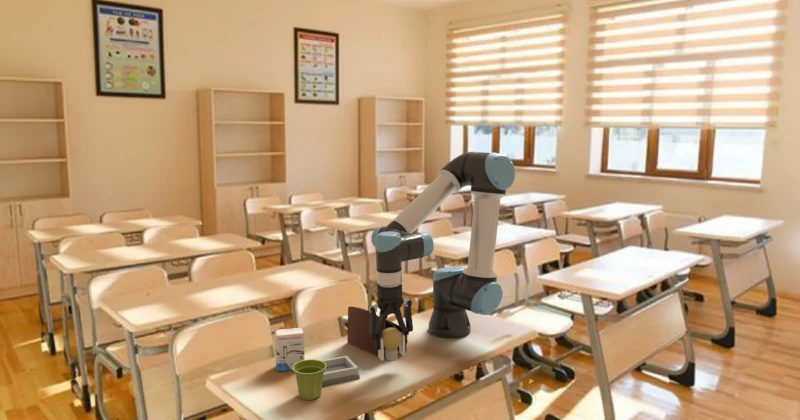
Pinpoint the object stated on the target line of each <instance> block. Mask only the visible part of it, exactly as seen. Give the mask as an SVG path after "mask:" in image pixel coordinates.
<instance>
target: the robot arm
mask: <svg viewBox="0 0 800 420" xmlns="http://www.w3.org/2000/svg"><path fill="white" fill-rule="evenodd" d="M515 179H516V170H515V165H514V163H513V161H512V160H511V158H510V157H509V156H508V155H506V154H504V153H503V154H502V153H497V152H482V151H481V152H480V151H479V152H477V151H468V152H467V151H466V152H464V153H462V154H459V155H458V156H455V158H453V159H452V160H450V161H449V162H447V164H445V165H444V166H443V167H441V169H440V170H439V171H438V172H437V177H436V178H435V179H434V180H433V181H432V182H431V183H430V184H428V186H427V187H426V188H424V189H423V190H422V191H421V192H420V194H418V195H417V196H416V197H415V198H414V199H413V200H412V201H411V202H410V203H409V204H408V205H407V206H406V207H405V208H404V209H403V210H402V211H401V212H400V213H399V214H397V216H396V217H395V218H394V219H393V220H391V221H390V222H389V223H388V224H387V225H386V226H378V227H376V228H374V230H373V231H372V233H371V238H370V239H371V243H372V245H373V246H374V248H375V249H374V250H375V262H376V263H375V266H376V283H377V285H376V293H377V294H376V295H377V301H376V303H375V304H373V305H371V304H370V305H368V307H367V309H368V311H369V313H370V315H369V337H371V338H372V339H375V348H376V349H377V350H378V357H377V358H378V359H379V360H380V361H381V362H382V361H385V359H384V344H383V339H382V338H381V336H382V333H383V329H384V325H385V322H386V320H388V317H389V316H390V315H394V316H395V318H396V321H397V325H399V327H400V329H401V332H402V333H401V336H402V340H401V343H400V345H399V353H400V354H399V355H401V356H402V357H404V356H406V352H405V344H408V336H409V334H410V332H413V331H414V326H413V325H414V324H413V317H412V314H413V313H412V305H413V302H412V300H411V299H409V298H405V299H404V298H403V284H402V283H403V274H402V273H403V272H402V271H403V268H402V267H403V266H402V265H403V262H408V261H412V260H417V259H423V258H425V257H428V256H430V255H431V254H433V251H434V248H435V247H434V240H433V237H432V236H431V235H430V234H429V233H428V232H424V231H423V232H417V233H414V232H415V231H416V230H417V229H418V228H419V227H420V226H421V225H422V224H423V223H425V221H426V220H428V218H429V217H430V216H431V215H432V214H433V213H434V212H435V211H436V210H437V209H438V208H439V207H440V206H441V205H442V204H444V202H445V201H446V200H447V199H449V197H450V196H451V195H452V194H453V193H458V192H459V191H460V190H461V189H462V188H465V187H467V186H470V193H471V194H472V195H473V197H474V199H473V211H472V221H471V228H470V229H471V230H470V231H471V232H470V239H469V250H468V259H467V260H468V261H467V267H463V266H448V267H447V266H446V267H441V268H438V269H436V270H435V271H434V272H433V279H432V293H433V295H432V298H433V303H432V305H433V307H432V309H433V310H432V313H431V315H430V319H429V322H428V332H429V333H430V334H432V335H433V336H436V337H440V338H449V339H451V338H452V339H453V338H461V337H465V336H467V335H469V334H470V333H471V329H472V328H471V323H470V319H469V316H468V313H467V311H469V312H472V313H473V314H476V315H483V316H487V315H490V314H492V313H494V312H495V311H496V309H498V307H499V306H500V304H501V302H502V300H503V288H502V285H501V284H499V283H498V282H497V279H498V275H497V273H496V272H495V271H494V263H495V253H496V246H497V245H496V243H497V234H498V224H499V215H500V205H501V199H502V198H504V197H505V196H506V191H507V190H508V189H509V188H511V187H512V185H513V184H514V181H515ZM402 306H403V311H404V318H405V321H404V319H403V314H402V311H401V308H402ZM378 309H379V314H378V316H379V320H378V324H377V327H376V315H377V312H378Z"/></svg>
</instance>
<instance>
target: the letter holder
mask: <svg viewBox="0 0 800 420" xmlns="http://www.w3.org/2000/svg"><path fill="white" fill-rule="evenodd" d="M369 315H370V313H369V310H367V309H365V308H361V307H355V306H348V307H347V343H348V344H350V345H352V346H354V347H356V348H359V349H360V350H362V351H365V352H367V353H369V354H371V355H373V356H375V357H377V358H378V350H377V349H376V348H375V339H372V338H371V337H369ZM379 316H380V315H379V314H378V315H377V314H376V327H377V324H378V320H379ZM387 328H396V329H398V330H399V331H400V333H402V332H401V329H400V327H399V324H398V323H396V322H393V321H391V320H388V319H386V322H385V325H384V329H383V331H384V330H385V329H387ZM407 344H408V343H407ZM407 344H405V353H406V352H407V349H408V348H407ZM397 349H398V356H399V355H401V354H400V353H399V346H398V348H397ZM384 360H387V359H386V348H385V347H384Z"/></svg>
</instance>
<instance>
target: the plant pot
mask: <svg viewBox="0 0 800 420" xmlns="http://www.w3.org/2000/svg"><path fill="white" fill-rule="evenodd" d="M292 369H293V370H292V371H293V372H294V375H295V379H296V385H297V390H298V391H297V392H298V395H299V396H298V397H299V398H302V399H303V400H305V401H309V400H310V401H311V400H315V399H316V398H320V397H321V396H322V389H323V386H322V382H323V374H324V372H325V369H326V363H325V362H323V361H321V360H319V359H314V358H313V359H310V358H308V359H304V360H303V361H299V362H297V363H295V364H294V365H293V367H292Z"/></svg>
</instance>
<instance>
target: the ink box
mask: <svg viewBox="0 0 800 420" xmlns="http://www.w3.org/2000/svg"><path fill="white" fill-rule="evenodd" d="M274 348H275V367H276V371H277V372H278V371H280V372H287V370H288V371H293V369H292V367H293V365H294V364H295V363H297V362H299V361H303V360H305V334H304V330H303V328H302V327H294V328H283V329H276V330H275V331H274Z"/></svg>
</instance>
